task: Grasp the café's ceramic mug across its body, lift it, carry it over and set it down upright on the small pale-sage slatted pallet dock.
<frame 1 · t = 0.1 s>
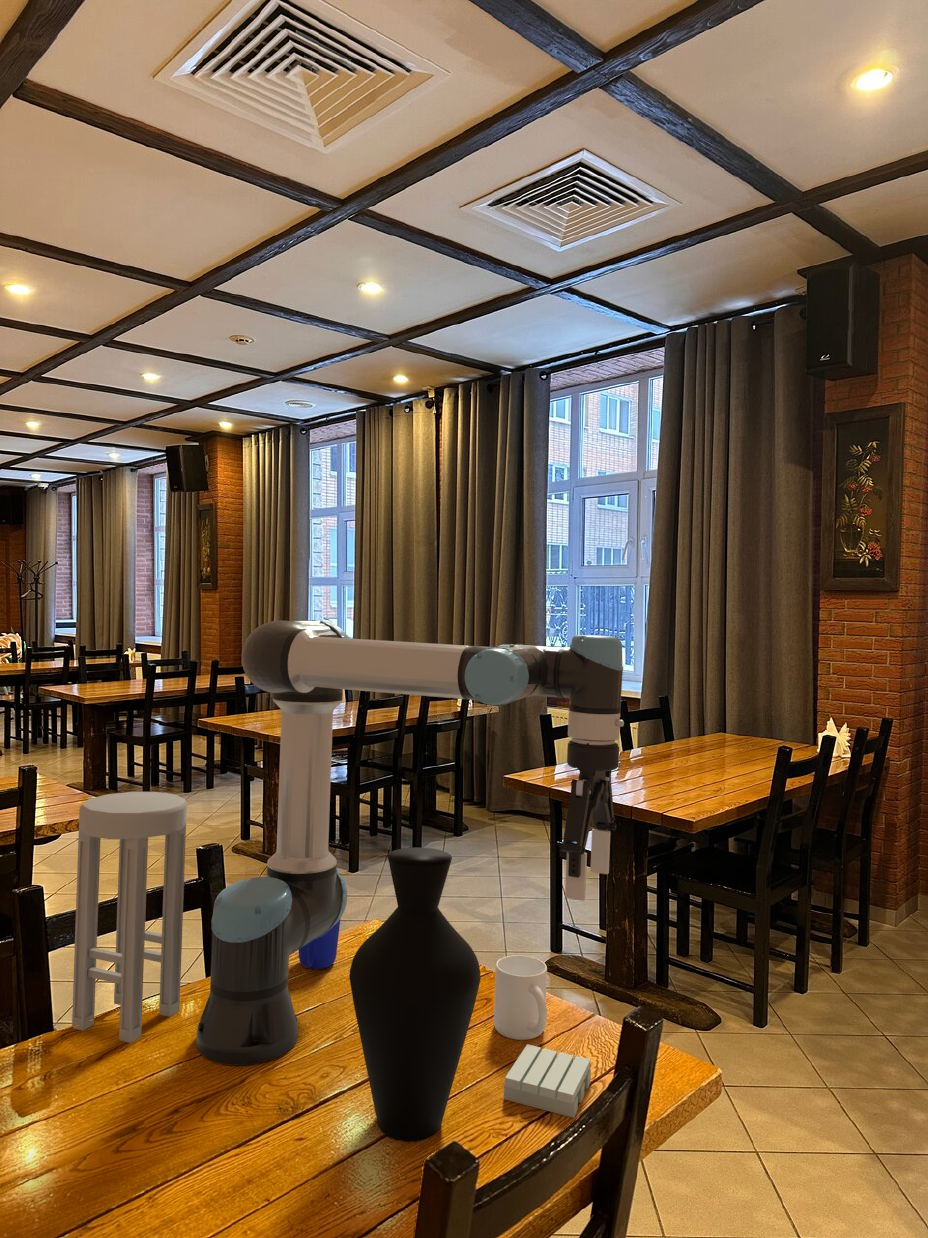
hand: (587, 885, 124), 28 cm above the table, fingers open, 13 cm apart
mug 2: (313, 969, 157), on the table
vase: (409, 1123, 111), on the table
stool: (126, 1020, 135), on the table
dock: (547, 1091, 120), on the table
mug: (524, 1035, 136), on the table
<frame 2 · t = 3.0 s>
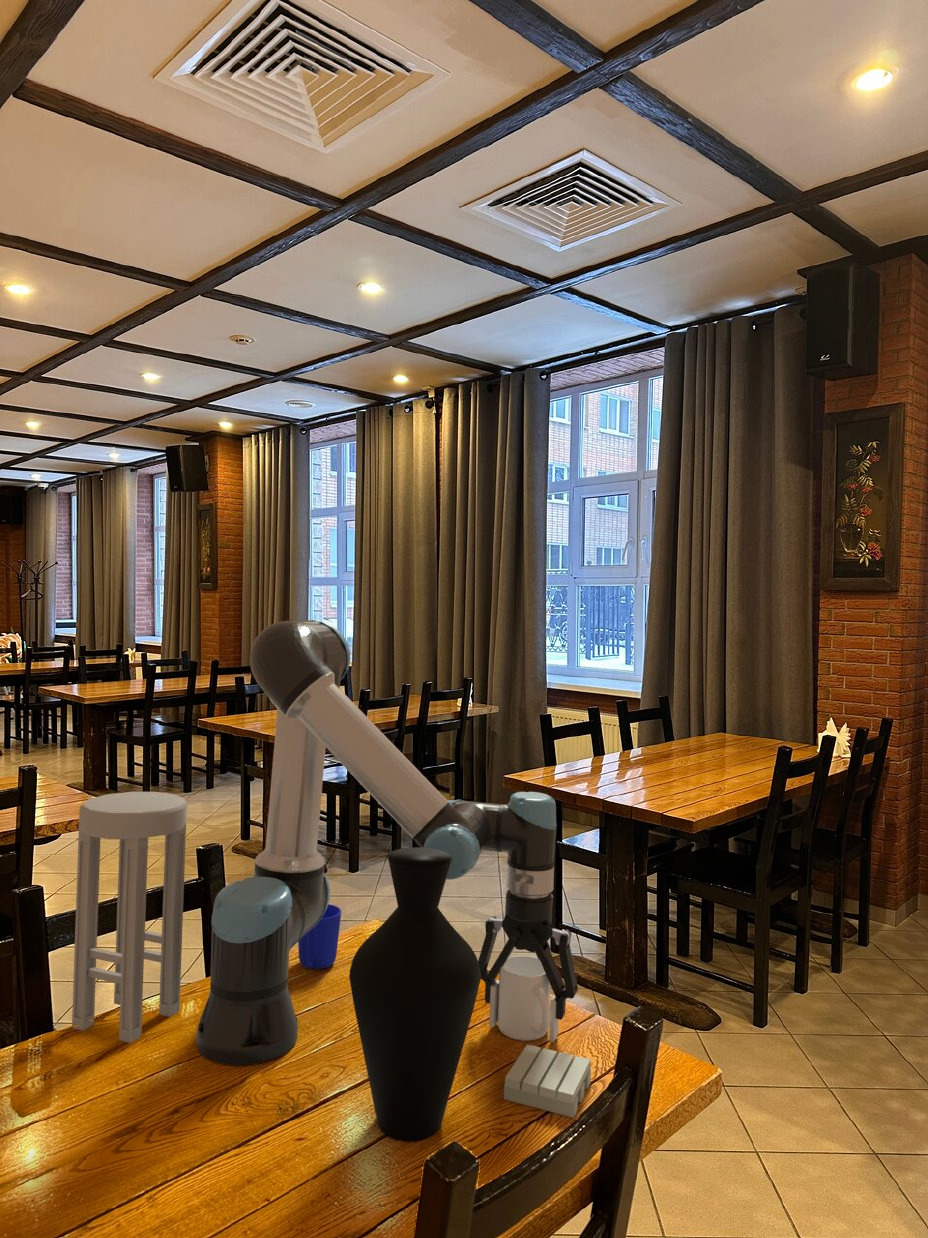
hand: (523, 1030, 136), 1 cm above the table, fingers closed on mug, 9 cm apart
mug: (528, 1036, 135), on the table, touching gripper
everything else where it was.
when the fingers open (7 cm above the table, at t = 8.5 s): mug drops 3 cm, resting on dock.
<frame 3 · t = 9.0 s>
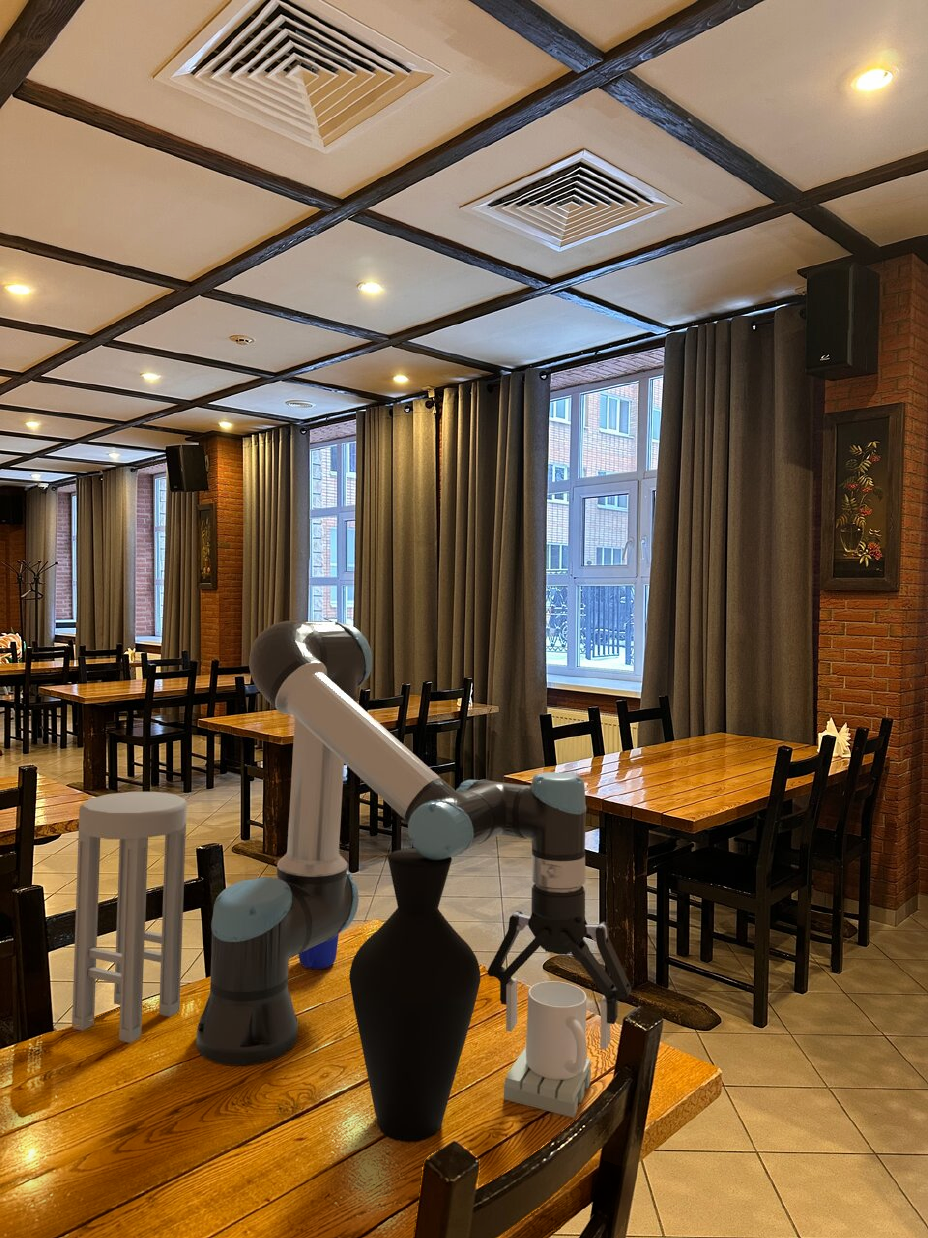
hand: (557, 1036, 119), 8 cm above the table, fingers open, 13 cm apart
vase: (409, 1124, 111), on the table, touching arm
mug: (560, 1074, 119), point 3 cm above the table, touching dock
everything else where it was.
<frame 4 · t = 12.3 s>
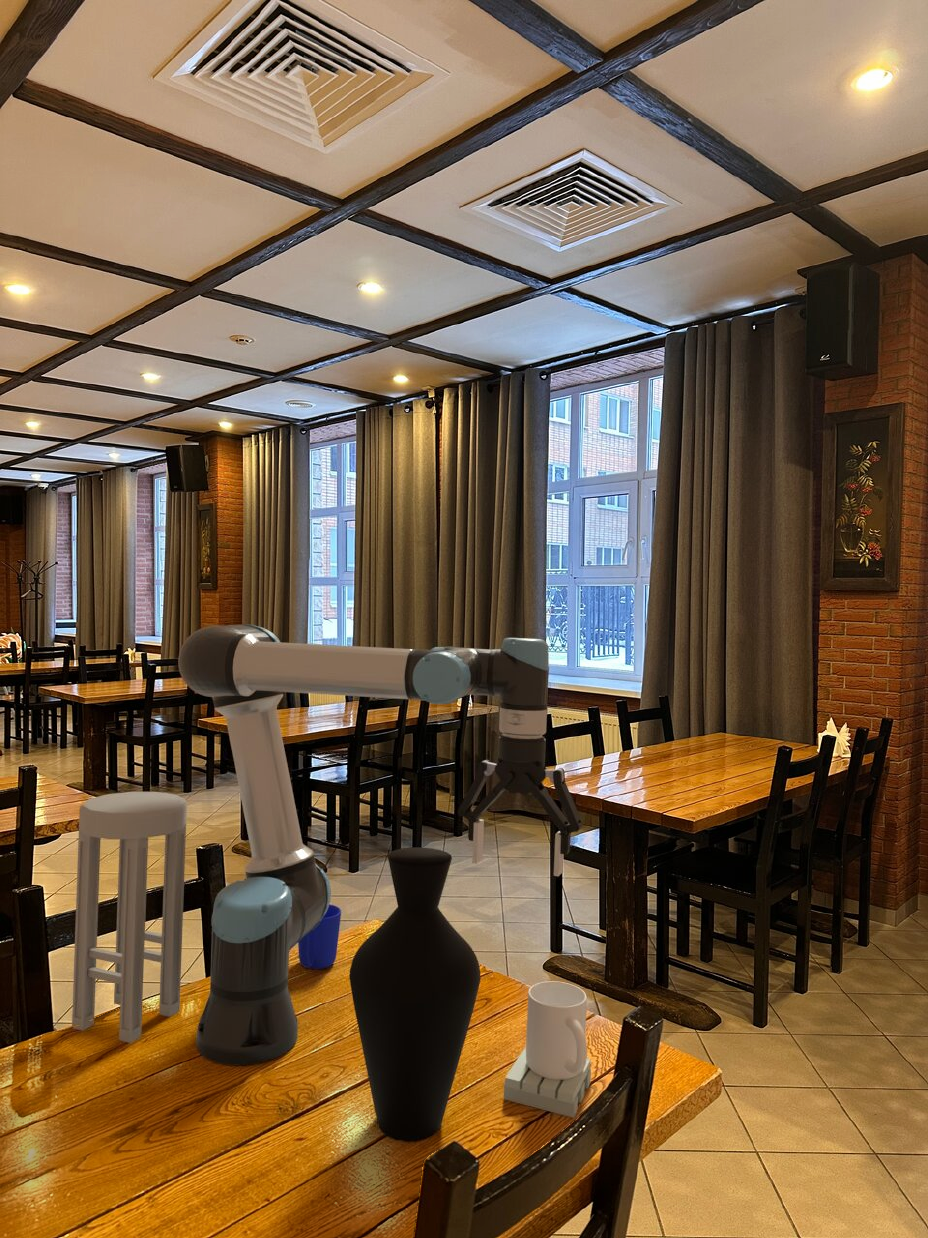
hand: (517, 867, 135), 27 cm above the table, fingers open, 13 cm apart
vase: (409, 1123, 111), on the table
everything else where it was.
at the end: mug inside the target area on the dock (1.8 cm from its centre), point 3.0 cm above the dock's base; mug tilted 0°; the gripper is holding nothing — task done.
